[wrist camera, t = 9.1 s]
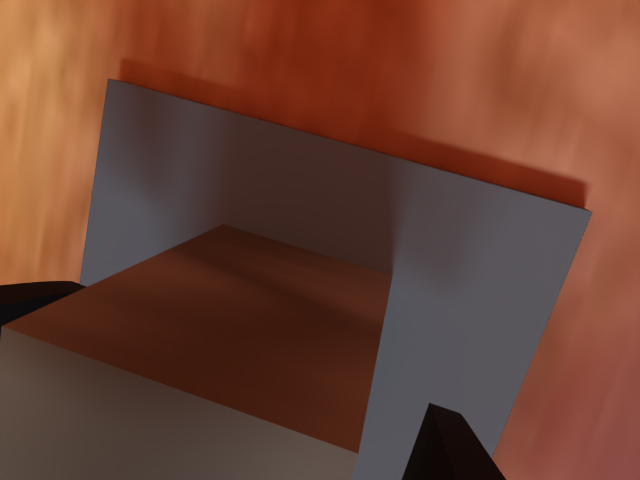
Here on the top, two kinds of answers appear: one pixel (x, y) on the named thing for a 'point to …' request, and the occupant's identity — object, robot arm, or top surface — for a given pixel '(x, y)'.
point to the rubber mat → (349, 247)
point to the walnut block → (196, 368)
